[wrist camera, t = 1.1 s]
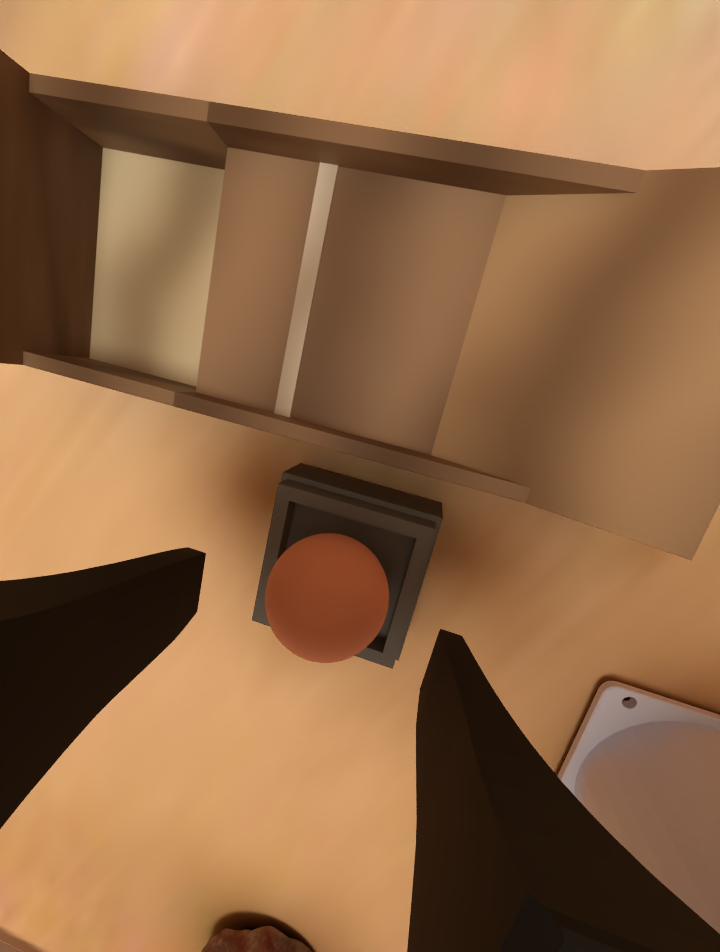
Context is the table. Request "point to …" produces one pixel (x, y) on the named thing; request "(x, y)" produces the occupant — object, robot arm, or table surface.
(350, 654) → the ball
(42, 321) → the lane
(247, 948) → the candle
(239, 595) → the table surface
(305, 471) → the grey square tray
